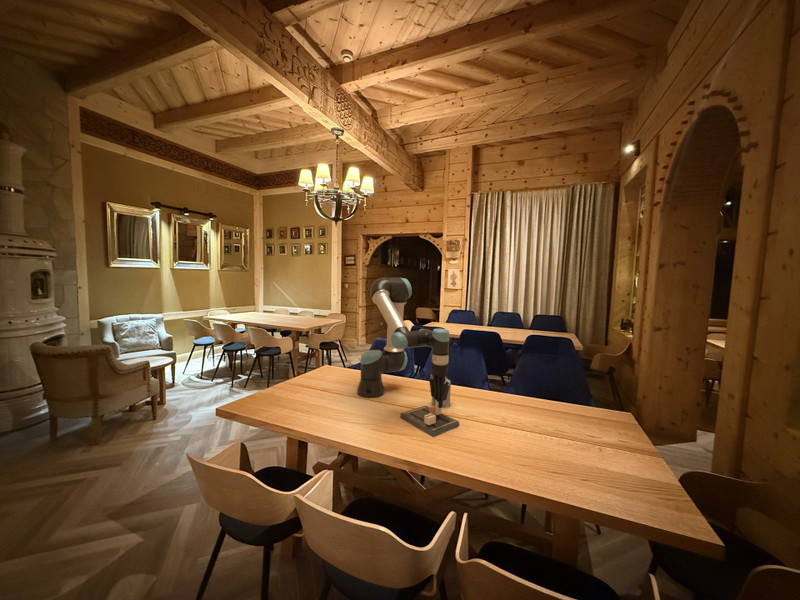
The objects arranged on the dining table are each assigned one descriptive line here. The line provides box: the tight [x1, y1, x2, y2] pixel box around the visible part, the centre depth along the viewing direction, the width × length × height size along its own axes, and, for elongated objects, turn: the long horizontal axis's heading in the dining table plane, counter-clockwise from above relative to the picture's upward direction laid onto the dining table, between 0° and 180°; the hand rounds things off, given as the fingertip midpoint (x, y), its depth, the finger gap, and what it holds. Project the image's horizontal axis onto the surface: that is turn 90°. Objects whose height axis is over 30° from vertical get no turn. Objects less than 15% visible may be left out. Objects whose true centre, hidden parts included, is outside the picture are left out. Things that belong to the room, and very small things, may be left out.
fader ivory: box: [424, 414, 436, 425], centre depth 140 cm, size 3×4×4 cm
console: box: [399, 405, 460, 438], centre depth 146 cm, size 22×16×2 cm
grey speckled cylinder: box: [431, 379, 452, 409], centre depth 166 cm, size 10×10×12 cm
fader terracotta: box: [428, 405, 436, 416], centre depth 149 cm, size 3×4×4 cm
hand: (438, 413), depth 147 cm, fingers closed
